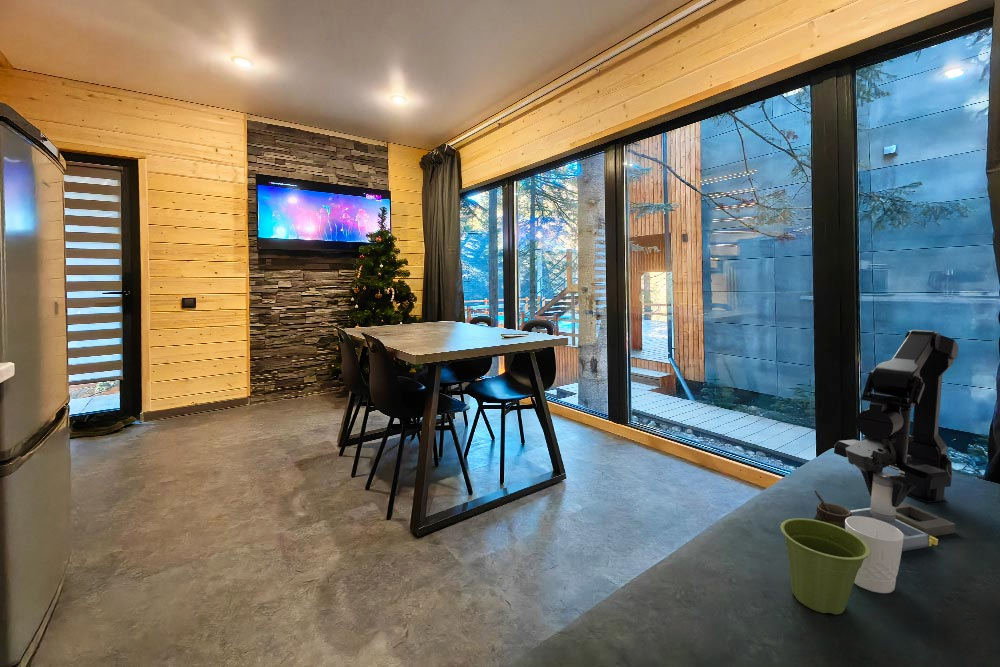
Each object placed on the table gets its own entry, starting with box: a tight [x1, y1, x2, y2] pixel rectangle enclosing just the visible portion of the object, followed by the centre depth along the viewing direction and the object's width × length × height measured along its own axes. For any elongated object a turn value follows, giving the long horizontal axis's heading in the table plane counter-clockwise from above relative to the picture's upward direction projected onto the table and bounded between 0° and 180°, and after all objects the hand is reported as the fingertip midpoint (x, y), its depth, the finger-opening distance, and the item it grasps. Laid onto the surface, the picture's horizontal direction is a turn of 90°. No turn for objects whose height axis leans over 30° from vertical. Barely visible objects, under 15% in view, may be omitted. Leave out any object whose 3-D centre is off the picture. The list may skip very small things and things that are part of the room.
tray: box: [849, 507, 930, 552], centre depth 92 cm, size 11×9×2 cm
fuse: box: [869, 471, 896, 523], centre depth 91 cm, size 4×4×9 cm
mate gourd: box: [813, 490, 851, 529], centre depth 88 cm, size 7×8×10 cm
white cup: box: [845, 516, 904, 594], centre depth 77 cm, size 8×8×10 cm
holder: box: [895, 500, 956, 537], centre depth 96 cm, size 10×8×2 cm
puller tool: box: [929, 536, 939, 547], centre depth 92 cm, size 9×2×1 cm, turn 12°
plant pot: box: [780, 517, 870, 615], centre depth 73 cm, size 12×12×11 cm
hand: (883, 501), depth 91 cm, fingers closed on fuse, 4 cm apart
